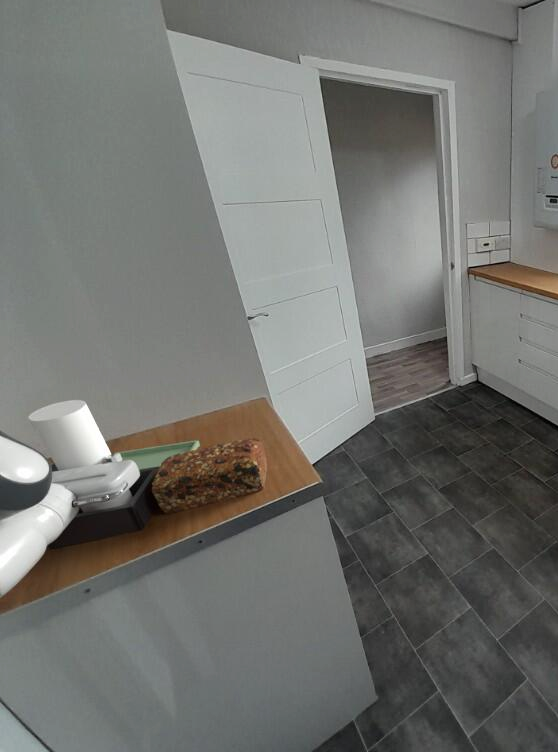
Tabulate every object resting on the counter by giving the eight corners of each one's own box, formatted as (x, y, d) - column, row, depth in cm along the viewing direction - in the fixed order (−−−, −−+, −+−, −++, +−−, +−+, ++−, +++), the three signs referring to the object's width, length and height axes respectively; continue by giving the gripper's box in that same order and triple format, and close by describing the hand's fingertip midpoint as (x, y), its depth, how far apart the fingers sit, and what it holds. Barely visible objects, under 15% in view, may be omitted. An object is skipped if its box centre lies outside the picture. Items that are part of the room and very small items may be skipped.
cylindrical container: (100, 508, 85) (42, 404, 74) (142, 499, 87) (93, 397, 76) (83, 533, 79) (18, 424, 68) (130, 522, 81) (74, 416, 71)
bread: (270, 465, 98) (260, 430, 94) (265, 494, 89) (254, 457, 85) (176, 485, 91) (160, 449, 87) (161, 518, 82) (142, 480, 78)
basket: (50, 549, 75) (35, 524, 73) (88, 502, 86) (77, 479, 84) (143, 530, 80) (132, 506, 77) (168, 488, 91) (159, 466, 88)
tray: (82, 499, 87) (79, 493, 86) (117, 458, 100) (114, 452, 99) (179, 482, 92) (176, 476, 92) (200, 445, 105) (198, 439, 105)
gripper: (111, 482, 67) (147, 437, 79) (-62, 511, 60) (5, 457, 72) (125, 512, 70) (157, 464, 81) (-40, 542, 63) (22, 486, 75)
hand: (85, 461), depth 77 cm, fingers open, 8 cm apart
